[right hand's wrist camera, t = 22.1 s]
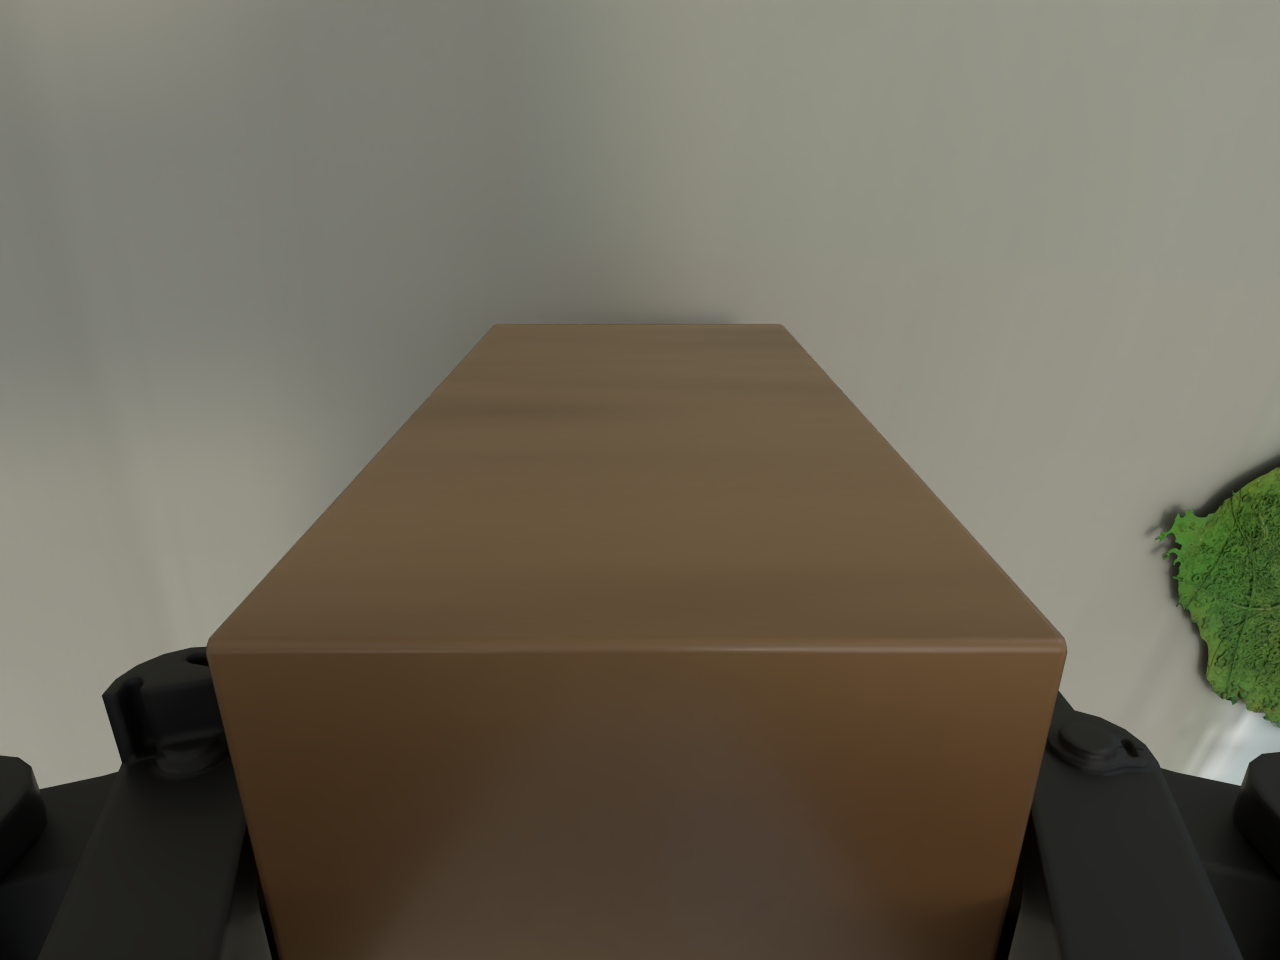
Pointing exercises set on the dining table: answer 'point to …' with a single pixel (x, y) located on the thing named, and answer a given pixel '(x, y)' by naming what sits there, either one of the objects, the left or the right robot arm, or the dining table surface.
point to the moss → (1236, 591)
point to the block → (637, 675)
